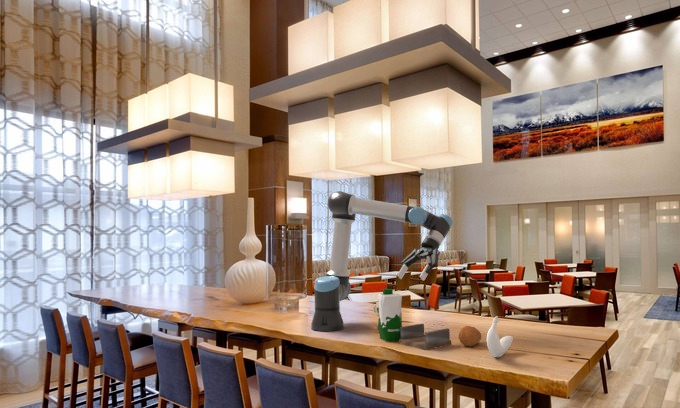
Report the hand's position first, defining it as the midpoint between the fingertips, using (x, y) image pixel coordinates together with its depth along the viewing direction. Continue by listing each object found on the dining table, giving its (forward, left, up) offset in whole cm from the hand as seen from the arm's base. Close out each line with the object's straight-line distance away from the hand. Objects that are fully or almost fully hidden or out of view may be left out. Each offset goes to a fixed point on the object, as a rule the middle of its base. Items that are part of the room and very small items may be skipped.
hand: (410, 278), depth 187 cm
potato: (+27, +4, -24) cm, 37 cm away
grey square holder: (+15, -8, -24) cm, 30 cm away
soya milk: (+1, -13, -24) cm, 27 cm away
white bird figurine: (+44, -2, -24) cm, 51 cm away
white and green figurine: (-13, -4, -24) cm, 28 cm away
